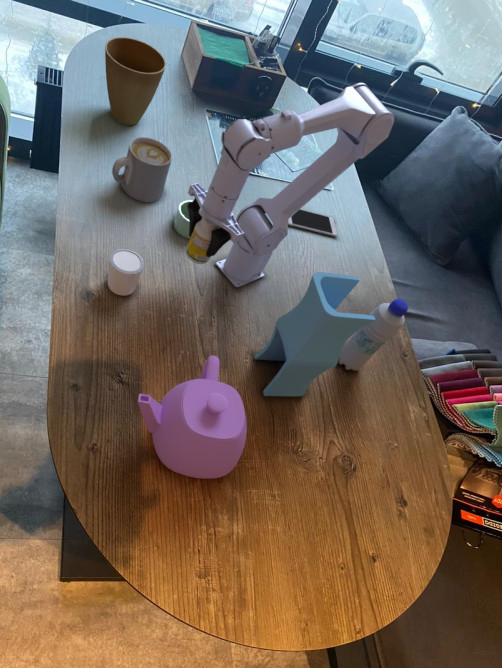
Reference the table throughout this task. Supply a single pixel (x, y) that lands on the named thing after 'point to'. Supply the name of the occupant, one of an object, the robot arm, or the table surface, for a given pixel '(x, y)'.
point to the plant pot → (131, 77)
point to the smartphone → (313, 222)
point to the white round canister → (124, 271)
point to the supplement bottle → (200, 241)
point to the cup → (182, 219)
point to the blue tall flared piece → (312, 334)
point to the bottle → (373, 334)
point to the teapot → (198, 425)
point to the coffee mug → (144, 169)
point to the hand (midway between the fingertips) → (201, 245)
